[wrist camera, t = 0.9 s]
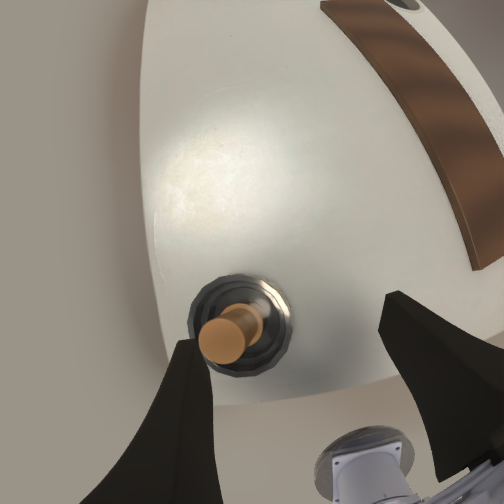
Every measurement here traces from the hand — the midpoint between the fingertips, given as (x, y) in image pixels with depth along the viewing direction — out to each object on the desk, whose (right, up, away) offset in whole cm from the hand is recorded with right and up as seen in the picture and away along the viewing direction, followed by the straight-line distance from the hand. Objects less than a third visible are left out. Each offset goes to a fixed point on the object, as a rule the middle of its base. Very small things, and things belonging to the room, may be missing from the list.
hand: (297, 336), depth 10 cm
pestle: (-2, -3, +15) cm, 15 cm away
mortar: (-2, -3, +15) cm, 16 cm away
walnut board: (+20, +22, +14) cm, 33 cm away
